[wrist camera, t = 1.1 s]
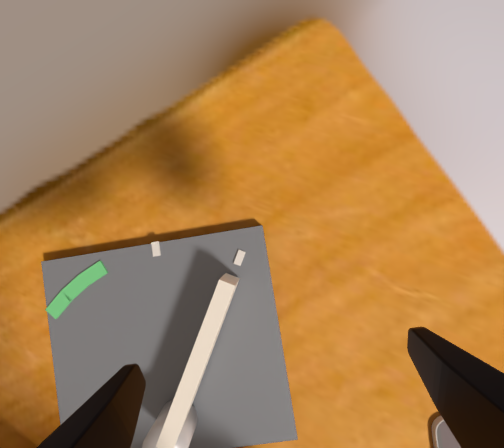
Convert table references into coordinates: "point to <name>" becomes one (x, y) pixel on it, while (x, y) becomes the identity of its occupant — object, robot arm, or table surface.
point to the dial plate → (174, 333)
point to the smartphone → (443, 435)
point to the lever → (192, 376)
